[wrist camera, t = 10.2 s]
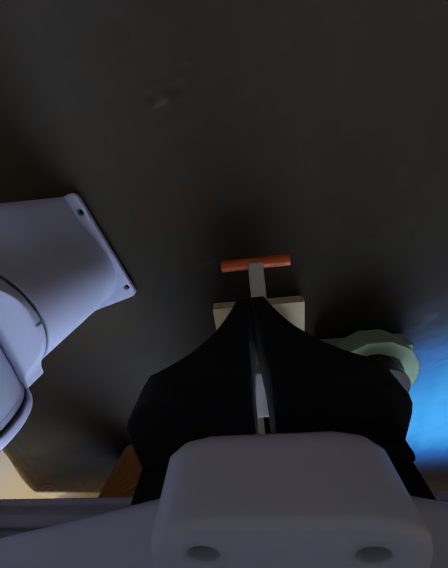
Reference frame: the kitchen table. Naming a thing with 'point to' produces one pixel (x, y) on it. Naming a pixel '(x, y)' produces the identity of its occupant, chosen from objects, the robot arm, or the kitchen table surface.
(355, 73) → the kitchen table surface
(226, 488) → the robot arm
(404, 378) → the button
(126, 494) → the disposable coffee cup
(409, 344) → the block
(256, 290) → the toaster lever
